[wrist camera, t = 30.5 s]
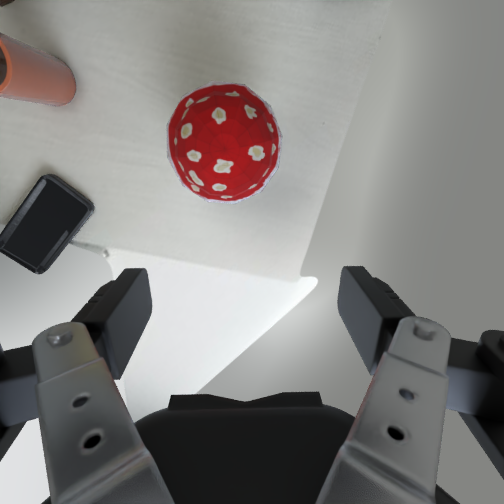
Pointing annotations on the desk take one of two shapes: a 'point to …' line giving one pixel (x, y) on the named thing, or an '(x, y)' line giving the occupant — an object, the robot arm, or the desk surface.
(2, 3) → the tray
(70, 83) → the pencil cup
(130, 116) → the desk surface
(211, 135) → the decorative mushroom
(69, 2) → the desk surface
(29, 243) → the phone
